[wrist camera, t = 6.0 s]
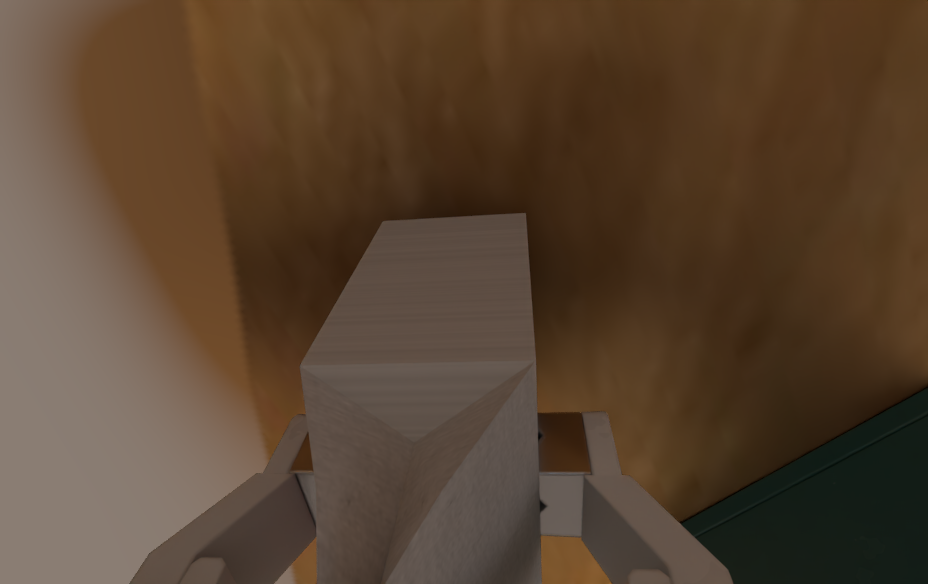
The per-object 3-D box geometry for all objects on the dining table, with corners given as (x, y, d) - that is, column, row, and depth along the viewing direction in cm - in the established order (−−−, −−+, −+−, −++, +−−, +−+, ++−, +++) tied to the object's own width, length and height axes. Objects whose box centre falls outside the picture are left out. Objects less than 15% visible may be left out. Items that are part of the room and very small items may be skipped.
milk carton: (525, 212, 12) (558, 684, 4) (532, 411, 16) (556, 899, 7) (382, 221, 13) (128, 661, 4) (418, 413, 16) (315, 874, 8)
